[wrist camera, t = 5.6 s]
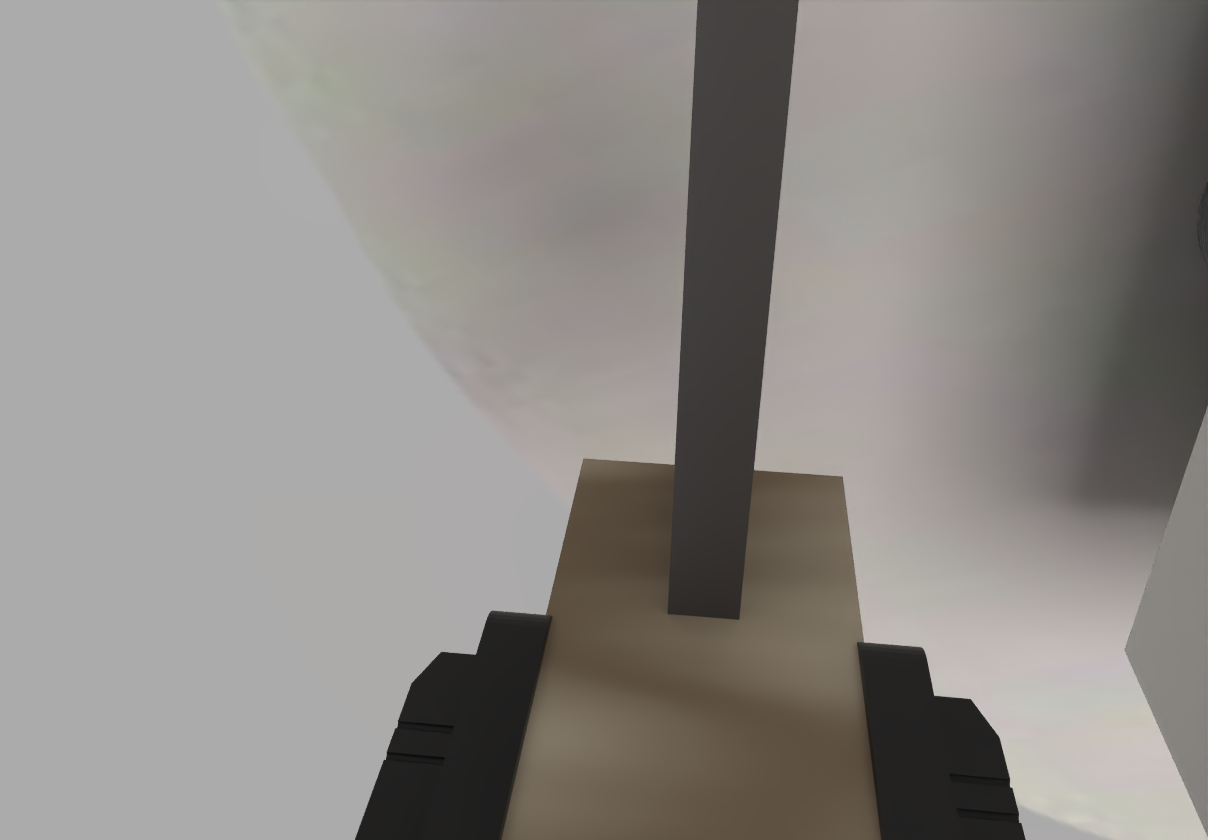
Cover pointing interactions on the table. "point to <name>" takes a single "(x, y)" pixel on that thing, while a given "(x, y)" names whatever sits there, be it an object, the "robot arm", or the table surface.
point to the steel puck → (1203, 224)
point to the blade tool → (708, 549)
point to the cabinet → (1180, 630)
